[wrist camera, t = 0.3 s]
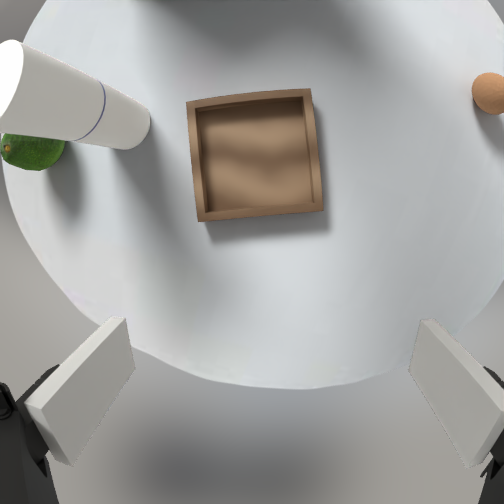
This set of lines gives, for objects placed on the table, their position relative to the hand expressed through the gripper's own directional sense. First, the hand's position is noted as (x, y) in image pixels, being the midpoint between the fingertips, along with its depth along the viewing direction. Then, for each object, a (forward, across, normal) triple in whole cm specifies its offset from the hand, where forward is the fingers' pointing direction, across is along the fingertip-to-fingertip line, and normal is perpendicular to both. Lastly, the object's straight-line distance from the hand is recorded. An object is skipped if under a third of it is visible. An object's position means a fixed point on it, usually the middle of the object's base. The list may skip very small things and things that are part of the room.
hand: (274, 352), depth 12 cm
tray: (+28, -2, +10) cm, 30 cm away
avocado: (+28, -33, +14) cm, 45 cm away
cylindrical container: (+28, -20, +16) cm, 38 cm away
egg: (+28, +33, +22) cm, 49 cm away
